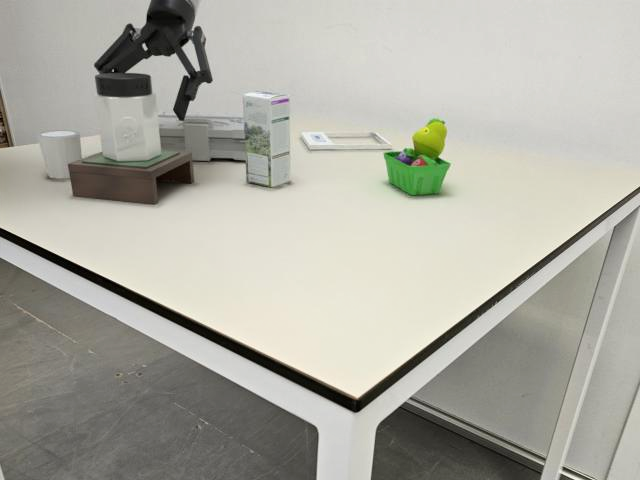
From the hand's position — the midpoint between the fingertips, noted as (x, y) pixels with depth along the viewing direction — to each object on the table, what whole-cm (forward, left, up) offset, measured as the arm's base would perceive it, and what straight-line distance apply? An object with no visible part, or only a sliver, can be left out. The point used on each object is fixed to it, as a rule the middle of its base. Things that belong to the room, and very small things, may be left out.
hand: (139, 113), depth 96 cm
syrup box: (+19, +7, -12) cm, 23 cm away
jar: (0, -4, -6) cm, 7 cm away
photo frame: (+24, +45, -11) cm, 53 cm away
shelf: (0, -4, -11) cm, 12 cm away
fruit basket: (+44, +12, -12) cm, 47 cm away
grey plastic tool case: (-3, +26, -11) cm, 28 cm away
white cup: (-16, 0, -11) cm, 20 cm away
